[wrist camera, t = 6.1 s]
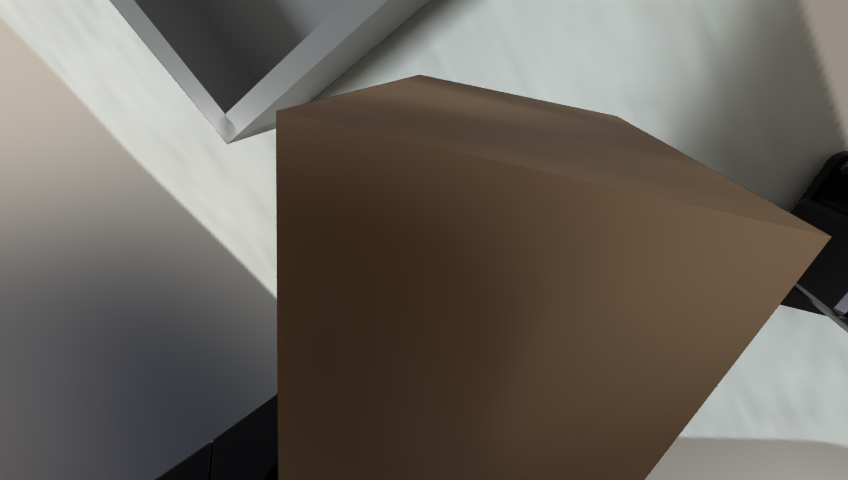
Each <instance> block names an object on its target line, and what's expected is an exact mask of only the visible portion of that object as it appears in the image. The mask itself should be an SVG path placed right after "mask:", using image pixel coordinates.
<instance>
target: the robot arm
mask: <svg viewBox="0 0 848 480" xmlns="http://www.w3.org/2000/svg"><path fill="white" fill-rule="evenodd" d="M845 162H848V151H843V152H839V153H837V154H835V155H833V156H832V157H831V158H830V159H829V160H828V161H827V162H826V163H825V165H824V166H823V168H822V169H821V171H820V172H819V174H818V175H817V176H816V178H815V179H814V181H813V182H812V184H811V185H810V187H809V188H808V189H807V191H806V192H805V194H804V195H803V197H802V198H801V200H800V201H799V202H798V203H797V205H796V206H795V207H794V209H793V210H792V212H791V213H790V214H792V215H794V216H796V217H797V218H799V219H801V220H803V221H805V222H806V223H808V224H810V225H812V226H814V227H815V228H817V229H819V230H821V231H822V232H824V233H826V234H828V235H830V236H831V238H830V240H829V241H828V242H827V244H826V245H825V246H824V247H823V249H822V250H821V251H820V253H819V254H818V255H817V256H816V258H815V259H814V260H813V262H812V263H811V264H810V266H809V267H808V268H807V269H806V271H805V272H804V273H803V275H802V276H801V277H800V279H799V280H798V281H797V282H796V284H795V285H794V286H793V288H792V289H791V290H790V292H789V293H788V294H787V295H786V297H785V298H784V299H783V301H782V302H781V303H780V305H784V306H788V307H792V308H796V309H801V310H805V311H809V312H813V313H817V314H821V315H825V316H828V317H829V318H831V319H832V320H833V321H834V322H835V323H837V324H838V325H839V326H840V327H842V328H843V329H844V330H845V331H846V332H848V167H847V168H846V169H844V170H842V171H841V167H842V165H843V164H844V163H845ZM154 480H278V393H276V394H275V395H274V396H272V397H271V398H269V399H268V400H267V401H265V402H264V403H262V404H261V405H260V406H258V407H257V408H255V409H254V410H253V411H251V412H250V413H249V414H247V415H246V416H244V417H243V418H242V419H240V420H239V421H237V422H236V423H235V424H233V425H232V426H230V427H229V428H228V429H226V430H225V431H223V432H222V433H221V434H219V435H218V436H217V437H215V438H214V439H213V443H212V442H208V443H207V444H205V445H204V446H202V447H201V448H200V449H198V450H197V451H195V452H194V453H193V454H191V455H190V456H188V457H187V458H185V459H184V460H183V461H181V462H180V463H178V464H177V465H175V466H174V467H172V468H171V469H169V470H168V471H167V472H165V473H164V474H162V475H161V476H159V477H158V478H156V479H154Z"/></svg>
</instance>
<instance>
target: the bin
mask: <svg viewBox="0 0 848 480" xmlns="http://www.w3.org/2000/svg"><path fill="white" fill-rule="evenodd" d="M429 1H430V0H110V2H111V3H112V4H113V5H114V6H115V8H116V9H117V10H118V11H119V13H120V14H121V15H122V16H123V17H124V19H125V20H126V21H127V22H128V24H129V25H130V26H131V27H132V28H133V30H134V31H135V32H136V33H137V35H138V36H139V37H140V38H141V39H142V41H143V42H144V43H145V44H146V46H147V47H148V48H149V49H150V50H151V52H152V53H153V54H154V55H155V57H156V58H157V59H158V60H159V61H160V63H161V64H162V65H163V66H164V68H165V69H166V70H167V71H168V72H169V74H170V75H171V76H172V77H173V79H174V80H175V81H176V82H177V83H178V85H179V86H180V87H181V88H182V90H183V91H184V92H185V93H186V94H187V96H188V97H189V98H190V99H191V101H192V102H193V103H194V104H195V105H196V107H197V108H198V109H199V110H200V112H201V113H202V114H203V115H204V117H205V118H206V119H207V120H208V121H209V123H210V124H211V125H212V126H213V128H214V129H215V130H216V131H217V132H218V134H219V135H220V136H221V137H222V139H223V140H224V141H225V142H226V143H227V144H229V143H232V142H235V141H238V140H241V139H244V138H248V137H251V136H254V135H257V134H260V133H263V132H266V131H269V130H272V129H275V128H276V111H277V110H281V109H285V108H289V107H293V106H297V105H301V104H305V103H309V102H311V101H312V100H313V99H314V98H315V97H317V96H318V95H319V94H320V93H321V92H322V91H324V90H325V89H326V88H327V87H328V86H330V85H331V84H332V83H333V82H334V81H335V80H337V79H338V78H339V77H340V76H341V75H343V74H344V73H345V72H346V71H347V70H348V69H350V68H351V67H352V66H353V65H354V64H356V63H357V62H358V61H359V60H360V59H361V58H363V57H364V56H365V55H366V54H367V53H369V52H370V51H371V50H372V49H373V48H374V47H376V46H377V45H378V44H379V43H380V42H382V41H383V40H384V39H385V38H386V37H387V36H389V35H390V34H391V33H392V32H393V31H395V30H396V29H397V28H398V27H399V26H400V25H402V24H403V23H404V22H405V21H406V20H408V19H409V18H410V17H411V16H412V15H413V14H415V13H416V12H417V11H418V10H419V9H421V8H422V7H423V6H424V5H425V4H426V3H428V2H429Z"/></svg>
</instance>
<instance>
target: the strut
mask: <svg viewBox="0 0 848 480" xmlns="http://www.w3.org/2000/svg"><path fill="white" fill-rule="evenodd" d="M276 185H277V351H278V352H277V353H278V354H277V356H278V357H277V358H278V360H277V361H278V362H277V365H278V480H645V478H646V477H647V476H648V474H649V473H650V472H651V471H652V469H653V468H654V467H655V465H656V464H657V463H658V462H659V460H660V459H661V458H662V456H663V455H664V454H665V452H666V451H667V450H668V449H669V447H670V446H671V445H672V443H673V442H674V441H675V439H676V438H677V437H678V436H679V434H680V433H681V432H682V430H683V429H684V428H685V426H686V425H687V424H688V423H689V421H690V420H691V419H692V417H693V416H694V415H695V413H696V412H697V411H698V410H699V408H700V407H701V406H702V404H703V403H704V402H705V401H706V399H707V398H708V397H709V395H710V394H711V393H712V391H713V390H714V389H715V388H716V386H717V385H718V384H719V382H720V381H721V380H722V378H723V377H724V376H725V375H726V373H727V372H728V371H729V369H730V368H731V367H732V365H733V364H734V363H735V362H736V360H737V359H738V358H739V356H740V355H741V354H742V353H743V351H744V350H745V349H746V347H747V346H748V345H749V343H750V342H751V341H752V340H753V338H754V337H755V336H756V334H757V333H758V332H759V330H760V329H761V328H762V327H763V325H764V324H765V323H766V321H767V320H768V319H769V317H770V316H771V315H772V314H773V312H774V311H775V310H776V308H777V307H778V306H779V305H780V303H781V302H782V301H783V299H784V298H785V297H786V295H787V294H788V293H789V292H790V290H791V289H792V288H793V286H794V285H795V284H796V282H797V281H798V280H799V279H800V277H801V276H802V275H803V273H804V272H805V271H806V269H807V268H808V267H809V266H810V264H811V263H812V262H813V260H814V259H815V258H816V256H817V255H818V254H819V253H820V251H821V250H822V249H823V247H824V246H825V245H826V244H827V242H828V241H829V240H830V238H831V236H830V235H828V234H826V233H824V232H822V231H821V230H819V229H817V228H815V227H814V226H812V225H810V224H808V223H806V222H805V221H803V220H801V219H799V218H797V217H796V216H794V215H792V214H790V213H789V212H787V211H785V210H783V209H781V208H780V207H778V206H776V205H774V204H772V203H771V202H769V201H767V200H765V199H764V198H762V197H760V196H758V195H756V194H755V193H753V192H751V191H749V190H748V189H746V188H744V187H742V186H740V185H739V184H737V183H735V182H733V181H731V180H730V179H728V178H726V177H724V176H723V175H721V174H719V173H717V172H715V171H714V170H712V169H710V168H708V167H706V166H705V165H703V164H701V163H699V162H698V161H696V160H694V159H692V158H690V157H689V156H687V155H685V154H683V153H681V152H680V151H678V150H676V149H674V148H673V147H671V146H669V145H667V144H665V143H664V142H662V141H660V140H658V139H656V138H655V137H653V136H651V135H649V134H648V133H646V132H644V131H642V130H640V129H639V128H637V127H635V126H633V125H631V124H630V123H628V122H626V121H624V120H623V119H621V118H619V117H617V116H613V115H608V114H604V113H599V112H594V111H589V110H585V109H580V108H575V107H570V106H566V105H561V104H556V103H551V102H547V101H542V100H537V99H532V98H528V97H523V96H518V95H513V94H509V93H504V92H499V91H494V90H490V89H485V88H480V87H475V86H471V85H466V84H461V83H456V82H452V81H447V80H442V79H437V78H433V77H428V76H423V75H417V76H413V77H409V78H405V79H401V80H397V81H393V82H389V83H385V84H381V85H377V86H373V87H369V88H365V89H361V90H357V91H353V92H349V93H345V94H341V95H337V96H333V97H329V98H325V99H321V100H317V101H313V102H309V103H305V104H301V105H297V106H293V107H289V108H285V109H281V110H277V111H276Z"/></svg>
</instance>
